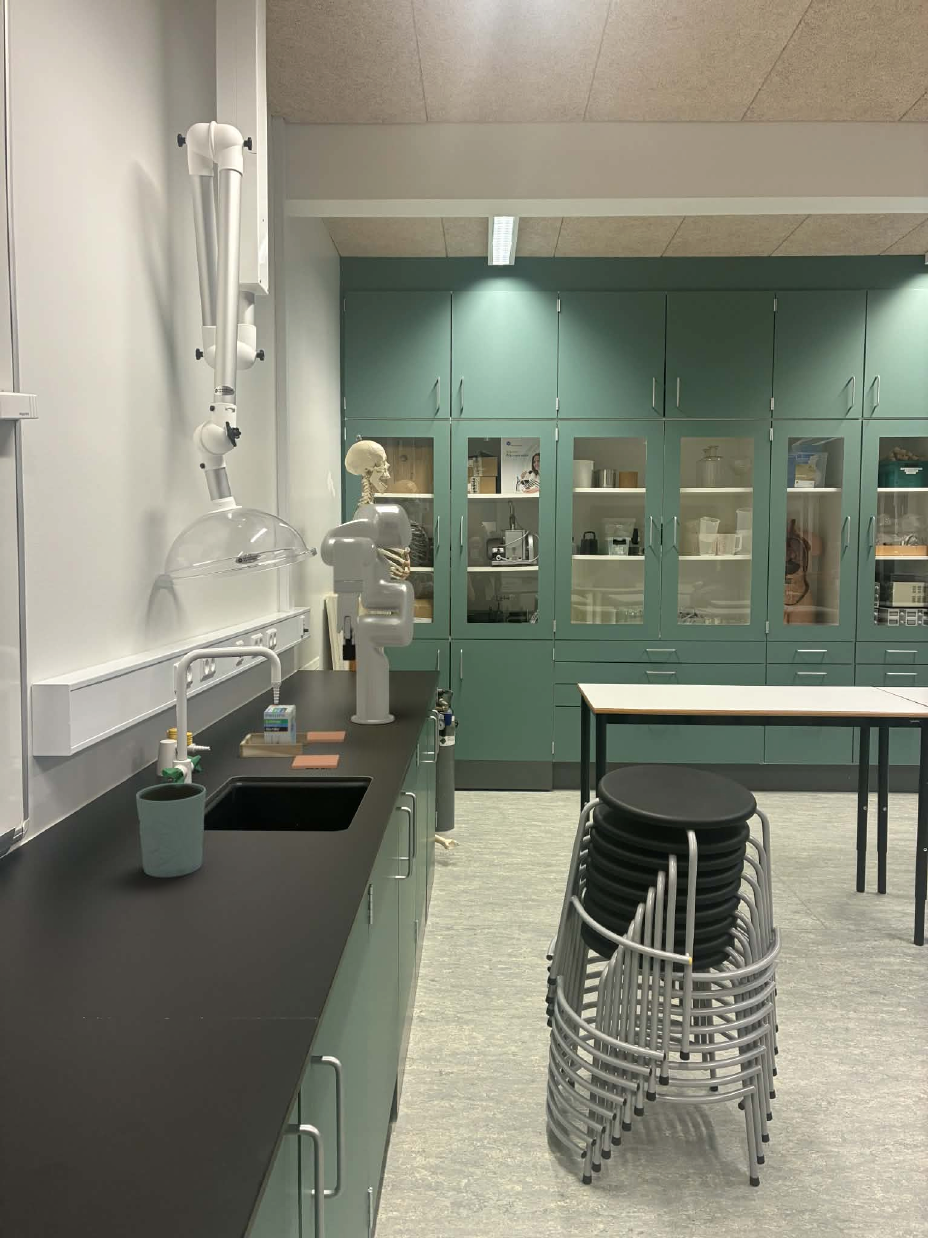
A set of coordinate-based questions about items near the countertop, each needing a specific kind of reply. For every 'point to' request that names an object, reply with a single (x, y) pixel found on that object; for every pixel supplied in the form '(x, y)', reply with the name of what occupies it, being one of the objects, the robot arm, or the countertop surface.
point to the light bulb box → (280, 724)
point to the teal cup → (171, 828)
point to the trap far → (325, 737)
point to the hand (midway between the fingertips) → (349, 660)
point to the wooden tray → (270, 747)
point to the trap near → (315, 761)
